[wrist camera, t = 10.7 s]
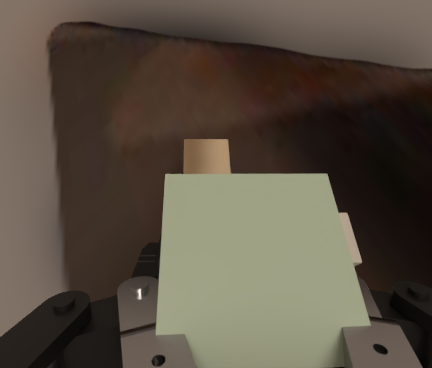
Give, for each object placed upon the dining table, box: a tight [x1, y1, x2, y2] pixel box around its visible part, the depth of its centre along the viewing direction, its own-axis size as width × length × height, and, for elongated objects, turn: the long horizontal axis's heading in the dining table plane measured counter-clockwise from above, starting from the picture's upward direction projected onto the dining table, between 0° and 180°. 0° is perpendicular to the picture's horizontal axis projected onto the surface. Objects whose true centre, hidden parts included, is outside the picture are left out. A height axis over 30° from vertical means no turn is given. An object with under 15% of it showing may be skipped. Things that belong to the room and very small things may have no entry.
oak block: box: [184, 139, 231, 174], centre depth 32 cm, size 4×4×10 cm
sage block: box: [156, 174, 371, 368], centre depth 11 cm, size 4×4×10 cm
